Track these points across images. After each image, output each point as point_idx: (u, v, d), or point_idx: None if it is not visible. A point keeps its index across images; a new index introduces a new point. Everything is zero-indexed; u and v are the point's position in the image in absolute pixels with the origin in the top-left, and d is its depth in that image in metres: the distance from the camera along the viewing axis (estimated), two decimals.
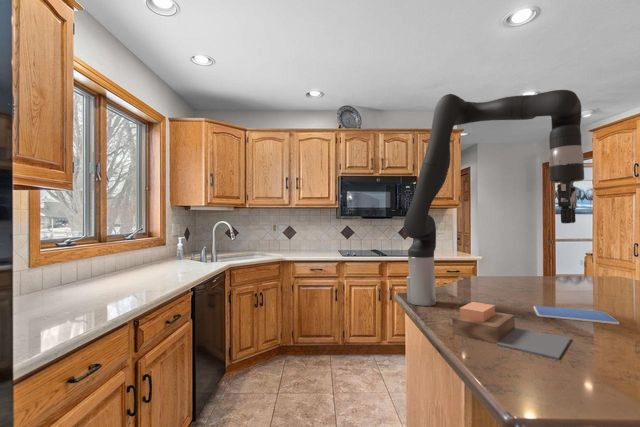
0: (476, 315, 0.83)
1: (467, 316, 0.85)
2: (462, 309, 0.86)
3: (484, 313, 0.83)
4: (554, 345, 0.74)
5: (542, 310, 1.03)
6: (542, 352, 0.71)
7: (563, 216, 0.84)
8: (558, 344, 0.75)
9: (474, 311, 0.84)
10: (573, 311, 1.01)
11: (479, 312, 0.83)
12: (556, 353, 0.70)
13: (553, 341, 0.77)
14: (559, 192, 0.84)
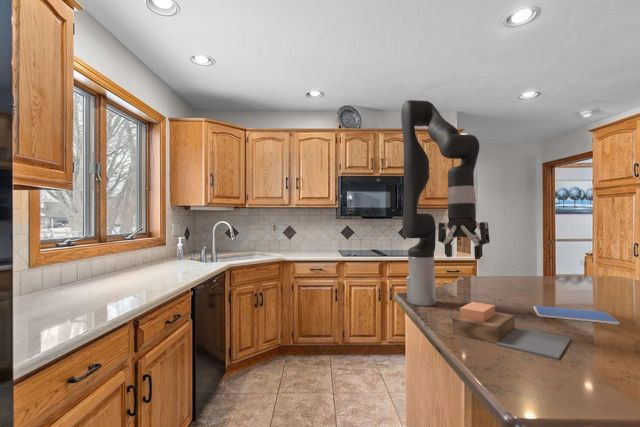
0: (476, 315, 0.83)
1: (467, 316, 0.85)
2: (462, 309, 0.86)
3: (484, 313, 0.83)
4: (554, 345, 0.74)
5: (542, 310, 1.03)
6: (542, 352, 0.71)
7: (480, 252, 0.89)
8: (558, 344, 0.75)
9: (474, 311, 0.84)
10: (573, 311, 1.01)
11: (479, 312, 0.83)
12: (556, 353, 0.70)
13: (553, 341, 0.77)
14: (485, 230, 0.87)
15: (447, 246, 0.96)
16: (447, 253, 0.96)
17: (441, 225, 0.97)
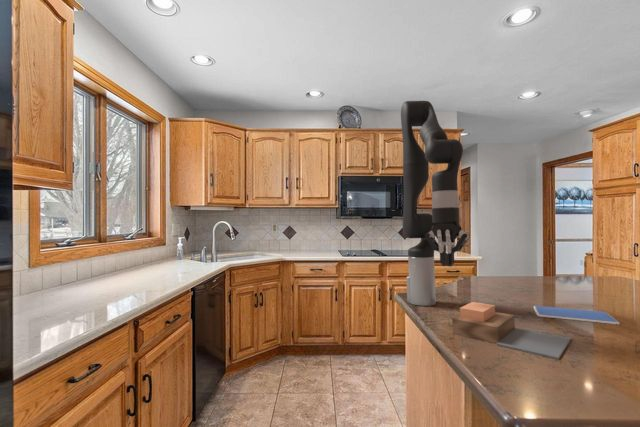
0: (476, 315, 0.83)
1: (467, 316, 0.85)
2: (462, 309, 0.86)
3: (484, 313, 0.83)
4: (554, 345, 0.74)
5: (542, 310, 1.03)
6: (542, 352, 0.71)
7: (452, 260, 0.92)
8: (558, 344, 0.75)
9: (474, 311, 0.84)
10: (573, 311, 1.01)
11: (479, 312, 0.83)
12: (556, 353, 0.70)
13: (553, 341, 0.77)
14: (463, 241, 0.89)
15: (443, 255, 0.93)
16: (443, 262, 0.93)
17: (427, 235, 0.97)
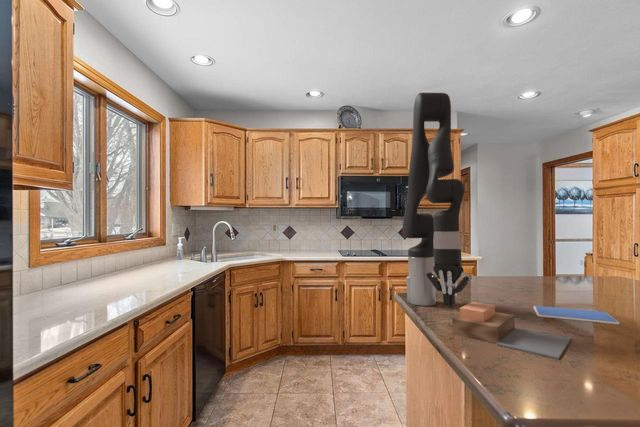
0: (476, 315, 0.83)
1: (467, 316, 0.85)
2: (462, 309, 0.86)
3: (484, 313, 0.83)
4: (554, 345, 0.74)
5: (542, 310, 1.03)
6: (542, 352, 0.71)
7: (453, 301, 0.92)
8: (558, 344, 0.75)
9: (474, 311, 0.84)
10: (573, 311, 1.01)
11: (479, 312, 0.83)
12: (556, 353, 0.70)
13: (553, 341, 0.77)
14: (464, 284, 0.89)
15: (446, 296, 0.93)
16: (446, 303, 0.92)
17: (429, 275, 0.96)
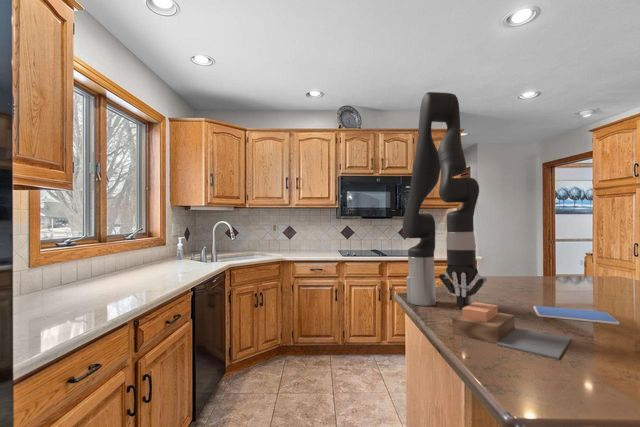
0: (479, 315, 0.83)
1: (470, 316, 0.85)
2: (464, 309, 0.86)
3: (487, 313, 0.82)
4: (554, 345, 0.74)
5: (542, 310, 1.03)
6: (542, 352, 0.71)
7: (467, 303, 0.89)
8: (558, 344, 0.75)
9: (477, 311, 0.83)
10: (573, 311, 1.01)
11: (482, 312, 0.82)
12: (556, 353, 0.70)
13: (553, 341, 0.77)
14: (479, 286, 0.86)
15: (460, 298, 0.90)
16: (460, 306, 0.90)
17: (442, 276, 0.93)
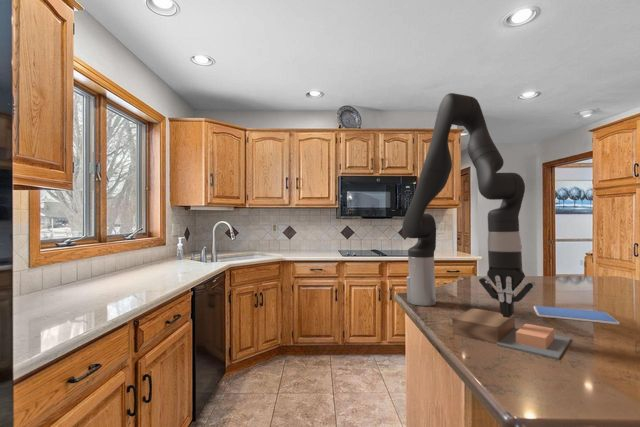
0: (524, 339, 0.76)
1: (535, 338, 0.74)
2: (542, 347, 0.73)
3: None
4: (554, 345, 0.74)
5: (542, 310, 1.03)
6: (542, 352, 0.71)
7: (512, 310, 0.81)
8: (558, 344, 0.75)
9: (526, 343, 0.75)
10: (573, 311, 1.01)
11: (520, 342, 0.76)
12: (556, 353, 0.70)
13: (553, 341, 0.77)
14: (527, 292, 0.78)
15: (504, 304, 0.82)
16: (504, 313, 0.82)
17: (483, 280, 0.85)
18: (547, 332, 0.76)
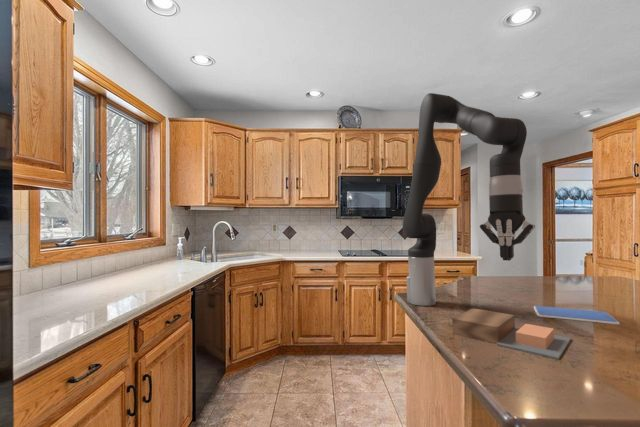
0: (524, 339, 0.76)
1: (535, 338, 0.74)
2: (542, 347, 0.73)
3: None
4: (554, 345, 0.74)
5: (542, 310, 1.03)
6: (542, 352, 0.71)
7: (512, 253, 0.82)
8: (558, 344, 0.75)
9: (526, 343, 0.75)
10: (573, 311, 1.01)
11: (520, 342, 0.76)
12: (556, 353, 0.70)
13: (553, 341, 0.77)
14: (527, 233, 0.79)
15: (504, 248, 0.83)
16: (504, 256, 0.83)
17: (483, 226, 0.86)
18: (547, 332, 0.76)
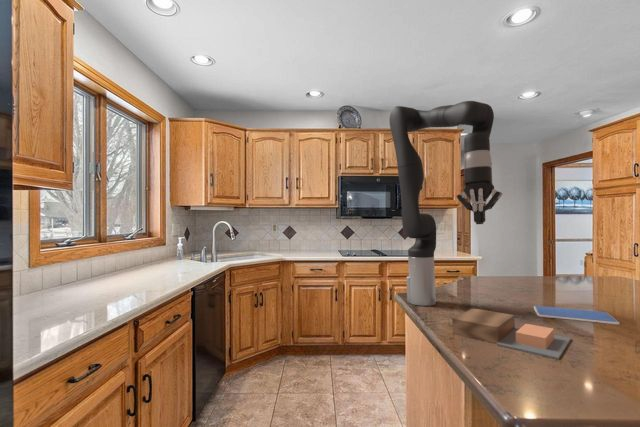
0: (524, 339, 0.76)
1: (535, 338, 0.74)
2: (542, 347, 0.73)
3: None
4: (554, 345, 0.74)
5: (542, 310, 1.03)
6: (542, 352, 0.71)
7: (483, 218, 0.95)
8: (558, 344, 0.75)
9: (526, 343, 0.75)
10: (573, 311, 1.01)
11: (520, 342, 0.76)
12: (556, 353, 0.70)
13: (553, 341, 0.77)
14: (495, 199, 0.93)
15: (477, 213, 0.96)
16: (477, 220, 0.96)
17: (460, 196, 1.00)
18: (547, 332, 0.76)
